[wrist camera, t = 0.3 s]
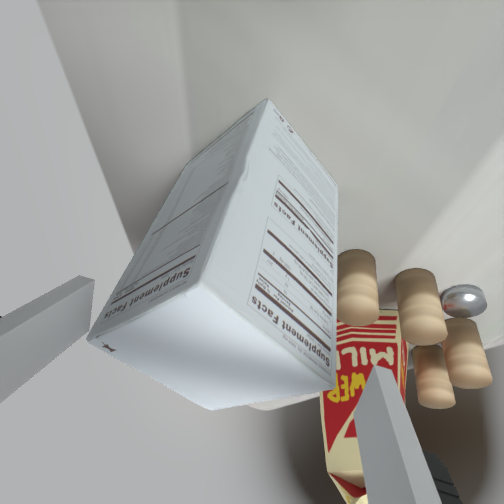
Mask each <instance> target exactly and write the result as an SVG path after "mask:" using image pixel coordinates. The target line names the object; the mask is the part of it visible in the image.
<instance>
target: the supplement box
mask: <svg viewBox="0 0 504 504" xmlns="http://www.w3.org/2000/svg"><path fill="white" fill-rule="evenodd" d="M337 248H338V185H337V184H336V183H335V181H334V180H333V179H332V177H331V176H330V175H329V174H328V172H327V171H326V170H325V169H324V167H323V166H322V165H321V163H320V162H319V161H318V160H317V158H316V157H315V156H314V155H313V153H312V152H311V151H310V150H309V148H308V147H307V146H306V145H305V143H304V142H303V141H302V140H301V138H300V137H299V136H298V134H297V133H296V132H295V131H294V129H293V128H292V127H291V126H290V124H289V123H288V122H287V121H286V119H285V118H284V117H283V116H282V114H281V113H280V112H279V111H278V109H277V108H276V107H275V105H274V104H273V103H272V102H271V100H270V99H265V100H264V101H262V102H261V103H260V104H259V105H257V106H256V107H255V108H254V109H252V110H251V111H250V112H249V113H247V114H246V115H245V116H244V117H243V118H241V119H240V120H239V121H238V122H237V123H235V124H234V125H233V126H232V127H231V128H230V129H228V130H227V131H226V132H225V133H224V134H222V135H221V136H220V137H219V138H218V139H216V140H215V141H214V142H213V143H212V144H210V145H209V146H208V147H207V148H206V149H204V150H203V151H202V152H201V153H200V154H198V155H197V156H196V157H195V158H194V159H192V160H191V161H190V162H189V163H188V164H187V165H186V166H185V168H184V170H183V171H182V173H181V175H180V177H179V178H178V180H177V182H176V183H175V185H174V187H173V189H172V190H171V192H170V194H169V195H168V197H167V199H166V201H165V202H164V204H163V206H162V208H161V210H160V211H159V213H158V215H157V216H156V218H155V220H154V222H153V224H152V225H151V227H150V229H149V231H148V232H147V234H146V236H145V238H144V239H143V241H142V243H141V245H140V246H139V248H138V250H137V251H136V253H135V255H134V256H133V258H132V260H131V262H130V263H129V265H128V267H127V268H126V270H125V272H124V273H123V275H122V277H121V279H120V280H119V282H118V284H117V285H116V287H115V289H114V291H113V292H112V294H111V296H110V298H109V299H108V301H107V303H106V305H105V306H104V308H103V310H102V312H101V313H100V315H99V317H98V318H97V320H96V322H95V324H94V325H93V327H92V329H91V331H90V332H89V334H88V336H87V338H86V340H87V341H88V342H89V343H90V344H92V345H94V346H95V347H97V348H99V349H101V350H102V351H104V352H106V353H107V354H109V355H111V356H113V357H114V358H116V359H118V360H120V361H122V362H123V363H125V364H127V365H129V366H131V367H133V368H134V369H136V370H138V371H140V372H141V373H143V374H145V375H147V376H149V377H150V378H152V379H154V380H156V381H158V382H159V383H161V384H163V385H165V386H166V387H168V388H170V389H172V390H173V391H175V392H177V393H179V394H180V395H182V396H184V397H185V398H187V399H189V400H190V401H192V402H194V403H196V404H198V405H200V406H202V407H204V408H206V409H208V410H216V409H221V408H227V407H233V406H239V405H245V404H251V403H256V402H262V401H268V400H274V399H280V398H286V397H292V396H297V395H303V394H309V393H315V392H320V391H326V390H332V389H335V387H336V328H337Z"/></svg>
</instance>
